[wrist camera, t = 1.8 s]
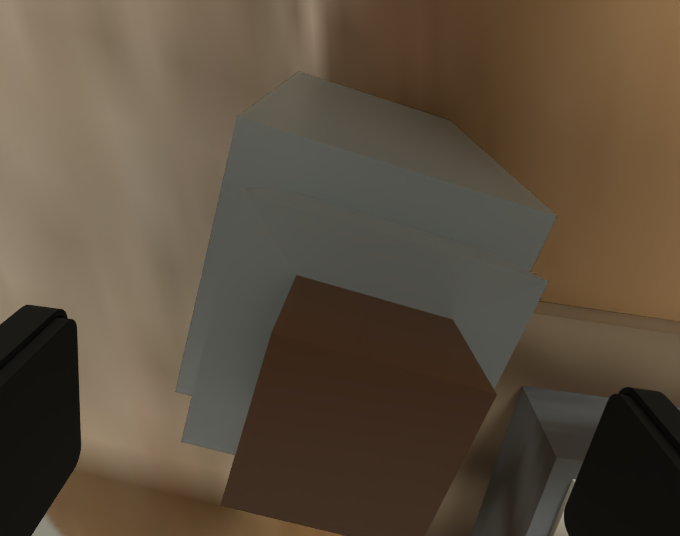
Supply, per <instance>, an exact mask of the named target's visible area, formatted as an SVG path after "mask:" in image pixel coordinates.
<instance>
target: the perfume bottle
mask: <svg viewBox="0 0 680 536" xmlns="http://www.w3.org/2000/svg"><path fill="white" fill-rule="evenodd" d="M556 218H557V215H556V214H554V213H553V212H552V211H551V210H550V209H549V208H548V207H547V206H545V205H544V204H543V203H542V202H541V201H540V200H539V199H538V198H536V197H535V196H534V195H533V194H532V193H531V192H530V191H529V190H528V189H526V188H525V187H524V186H523V185H522V184H521V183H520V182H519V181H517V180H516V179H515V178H514V177H513V176H512V175H511V174H510V173H508V172H507V171H506V170H505V169H504V168H503V167H502V166H501V165H499V164H498V163H497V162H496V161H495V160H494V159H493V158H492V157H490V156H489V155H488V154H487V153H486V152H485V151H484V150H483V149H481V148H480V147H479V146H478V145H477V144H476V143H475V142H474V141H472V140H471V139H470V138H469V137H468V136H467V135H466V134H465V133H463V132H462V131H461V130H460V129H459V128H458V127H457V126H456V125H454V124H453V123H452V122H451V121H450V120H448V119H444V118H441V117H438V116H435V115H432V114H429V113H426V112H423V111H420V110H417V109H414V108H410V107H407V106H404V105H401V104H398V103H395V102H392V101H389V100H386V99H383V98H380V97H376V96H373V95H370V94H367V93H364V92H361V91H358V90H355V89H352V88H349V87H346V86H343V85H339V84H336V83H333V82H330V81H327V80H324V79H321V78H318V77H315V76H312V75H309V74H305V73H302V72H298V73H296V74H295V75H294V76H292V77H291V78H290V79H288V80H287V81H285V82H284V83H283V84H281V85H280V86H278V87H277V88H276V89H274V90H273V91H272V92H270V93H269V94H267V95H266V96H265V97H263V98H262V99H260V100H259V101H258V102H256V103H255V104H253V105H252V106H251V107H249V108H248V109H247V110H245V111H244V112H242V113H241V114H240V115H238V116H237V119H236V124H235V128H234V133H233V137H232V142H231V146H230V151H229V155H228V160H227V164H226V168H225V173H224V177H223V182H222V186H221V191H220V195H219V200H218V204H217V208H216V213H215V217H214V222H213V226H212V231H211V235H210V240H209V244H208V249H207V253H206V257H205V262H204V266H203V271H202V275H201V280H200V284H199V289H198V293H197V298H196V302H195V306H194V311H193V315H192V320H191V324H190V329H189V333H188V338H187V342H186V346H185V351H184V355H183V360H182V364H181V369H180V373H179V378H178V382H177V387H176V391H175V392H178V393H182V394H186V395H190V396H192V399H191V403H190V407H189V411H188V415H187V419H186V424H185V428H184V432H183V436H182V440H181V442H184V443H188V444H192V445H196V446H200V447H204V448H208V449H212V450H216V451H220V452H224V453H228V454H232V455H235V458H234V461H233V465H232V468H231V471H230V475H229V478H228V482H227V485H226V488H225V492H224V495H223V499H222V502H221V505H220V506H224V507H228V508H233V509H237V510H241V511H245V512H249V513H253V514H258V515H262V516H266V517H270V518H274V519H278V520H283V521H287V522H291V523H295V524H299V525H304V526H308V527H312V528H316V529H320V530H324V531H329V532H333V533H337V534H341V535H345V536H425V535H426V533H427V531H428V529H429V527H430V525H431V523H432V521H433V519H434V517H435V515H436V513H437V511H438V509H439V507H440V505H441V503H442V501H443V499H444V497H445V496H446V494H447V492H448V490H449V488H450V486H451V484H452V482H453V480H454V478H455V476H456V474H457V472H458V470H459V468H460V466H461V464H462V462H463V460H464V458H465V456H466V454H467V452H468V451H469V449H470V447H471V445H472V443H473V441H474V439H475V437H476V435H477V433H478V431H479V429H480V427H481V425H482V423H483V421H484V419H485V417H486V415H487V413H488V411H489V409H490V408H491V406H492V404H493V402H494V400H495V398H496V396H497V394H496V392H495V390H494V389H495V387H496V385H497V383H498V381H499V379H500V377H501V375H502V373H503V371H504V369H505V367H506V365H507V363H508V361H509V359H510V357H511V355H512V353H513V351H514V349H515V347H516V345H517V343H518V341H519V339H520V337H521V335H522V333H523V331H524V330H525V328H526V326H527V324H528V322H529V320H530V318H531V316H532V314H533V312H534V310H535V308H536V306H537V304H538V302H539V300H540V298H541V296H542V294H543V292H544V290H545V288H546V286H547V284H548V282H549V281H548V280H546V279H544V278H542V277H540V276H538V275H536V274H534V273H531V272H530V271H531V269H532V267H533V265H534V263H535V261H536V259H537V257H538V255H539V253H540V251H541V249H542V247H543V244H544V242H545V240H546V238H547V236H548V234H549V232H550V230H551V228H552V226H553V224H554V222H555V220H556Z"/></svg>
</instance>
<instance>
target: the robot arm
mask: <svg viewBox="0 0 680 536" xmlns="http://www.w3.org/2000/svg"><path fill="white" fill-rule="evenodd" d="M80 451H81V431H80V402H79V373H78V344H77V325H76V322H75V321H74V320H73V319H68V318H67V315H66V312H65V311H64V310H63V309H56V308H48V307H41V306H34V305H25V306H23V307H22V308H21V309H19V310H18V311H17V312H16V313H14V314H13V315H12V316H11V317H9V318H8V319H7V320H6V321H4V322H3V323H2V324H1V325H0V536H31V535H32V534H33V532H34V531H35V529H36V527H37V526H38V524H39V523H40V521H41V520H42V518H43V517H44V515H45V514H46V512H47V510H48V509H49V507H50V506H51V504H52V503H53V501H54V500H55V498H56V496H57V495H58V493H59V492H60V490H61V489H62V487H63V486H64V484H65V483H66V481H67V479H68V478H69V476H70V475H71V473H72V472H73V470H74V468H75V467H76V464H77V462H78V459H79V456H80ZM564 523H565V528H566V531H567V533H568V535H569V536H680V411H679V410H678V409H677V408H676V407H675V405H674V404H673V403H672V402H671V401H670V400H669V399H668V398H667V397H666V396H665V395H664V394H663V393H662V392H659V391H654V390H646V389H639V388H632V387H625V388H622V389H621V390H620V391H619V393H618V394H612V395H611V396H610V397H609V399H608V401H607V404H606V406H605V409H604V411H603V414H602V416H601V418H600V421H599V423H598V426H597V428H596V431H595V433H594V436H593V438H592V441H591V443H590V446H589V448H588V451H587V453H586V456H585V458H584V461H583V463H582V466H581V468H580V471H579V473H578V476H577V478H576V481H575V483H574V486H573V488H572V491H571V493H570V496H569V498H568V501H567V503H566V506H565V509H564Z"/></svg>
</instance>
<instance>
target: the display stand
mask: <svg viewBox="0 0 680 536" xmlns="http://www.w3.org/2000/svg"><path fill="white" fill-rule="evenodd" d="M625 387H632V388H639V389H646V390H654V391H659V392H662V393H663V394H664V395H665V396H666V397H667V398H668V399H669V400H670V401H671V402H672V403H673V404H674V405H675V407H676V408H677V409H678V410H679V411H680V322H677V321H670V320H663V319H656V318H650V317H643V316H636V315H629V314H622V313H615V312H609V311H602V310H595V309H588V308H581V307H574V306H567V305H561V304H554V303H547V302H540V301H539V302H538V304H537V306H536V308H535V310H534V312H533V314H532V316H531V318H530V320H529V322H528V324H527V326H526V328H525V330H524V331H523V333H522V335H521V337H520V339H519V341H518V343H517V345H516V347H515V349H514V351H513V353H512V355H511V357H510V359H509V361H508V363H507V365H506V367H505V369H504V371H503V373H502V375H501V377H500V379H499V381H498V383H497V385H496V387H495V389H494V390H495V392H496V394H497V396H496V398H495V400H494V402H493V404H492V406H491V408H490V409H489V411H488V413H487V415H486V417H485V419H484V421H483V423H482V425H481V427H480V429H479V431H478V433H477V435H476V437H475V439H474V441H473V443H472V445H471V447H470V449H469V451H468V452H467V454H466V456H465V458H464V460H463V462H462V464H461V466H460V468H459V470H458V472H457V474H456V476H455V478H454V480H453V482H452V484H451V486H450V488H449V490H448V492H447V494H446V496H445V497H444V499H443V501H442V503H441V505H440V507H439V509H438V511H437V513H436V515H435V517H434V519H433V521H432V523H431V525H430V527H429V529H428V531H427V533H426V535H425V536H569V535H568V533H567V531H566V528H565V523H564V509H565V506H566V503H567V501H568V498H569V496H570V493H571V491H572V488H573V486H574V483H575V481H576V478H577V476H578V473H579V471H580V468H581V466H582V463H583V461H584V458H585V456H586V453H587V451H588V448H589V446H590V443H591V441H592V438H593V436H594V433H595V431H596V428H597V426H598V423H599V421H600V418H601V416H602V414H603V411H604V409H605V406H606V404H607V401H608V399H609V397H610V396H611V395H612V394H618V393H619V391H620V390H621V389H622V388H625Z"/></svg>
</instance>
